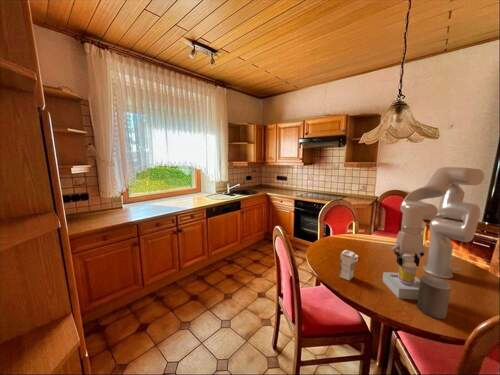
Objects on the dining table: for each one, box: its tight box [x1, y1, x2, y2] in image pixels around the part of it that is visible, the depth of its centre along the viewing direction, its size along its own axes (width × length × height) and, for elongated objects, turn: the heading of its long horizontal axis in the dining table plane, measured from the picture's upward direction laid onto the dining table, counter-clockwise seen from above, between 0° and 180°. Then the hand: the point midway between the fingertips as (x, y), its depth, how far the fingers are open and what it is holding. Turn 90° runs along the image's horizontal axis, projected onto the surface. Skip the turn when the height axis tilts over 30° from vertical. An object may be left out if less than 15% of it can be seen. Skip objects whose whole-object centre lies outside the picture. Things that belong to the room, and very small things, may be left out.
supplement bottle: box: [397, 254, 417, 284], centre depth 101 cm, size 7×7×13 cm
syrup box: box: [338, 249, 356, 281], centre depth 113 cm, size 6×6×14 cm
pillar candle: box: [416, 274, 451, 320], centre depth 88 cm, size 10×10×15 cm
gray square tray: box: [382, 271, 420, 301], centre depth 102 cm, size 14×14×5 cm
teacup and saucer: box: [355, 254, 359, 262], centre depth 135 cm, size 9×8×4 cm
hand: (407, 264), depth 101 cm, fingers closed on supplement bottle, 6 cm apart
